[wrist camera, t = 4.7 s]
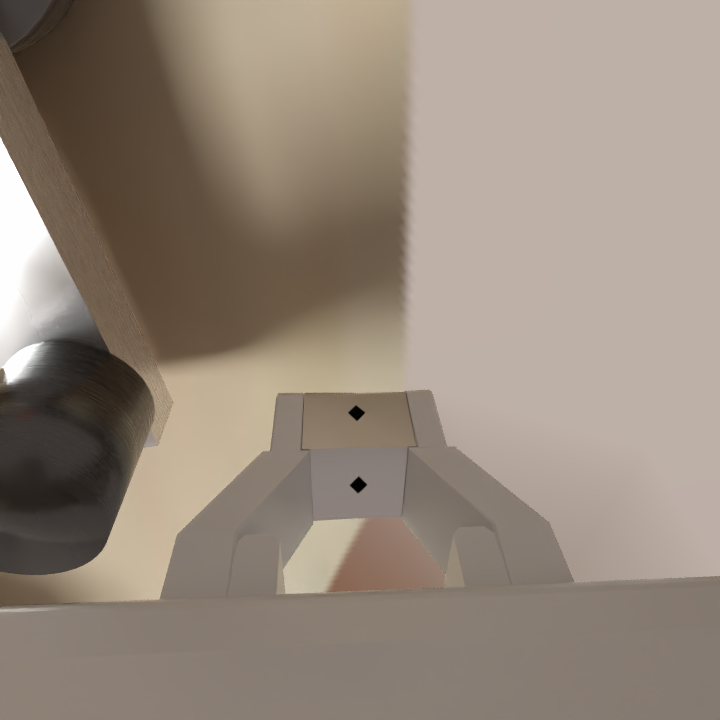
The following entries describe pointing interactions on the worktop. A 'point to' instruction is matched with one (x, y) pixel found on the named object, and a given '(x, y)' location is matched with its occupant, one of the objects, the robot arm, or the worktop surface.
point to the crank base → (29, 20)
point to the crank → (61, 358)
